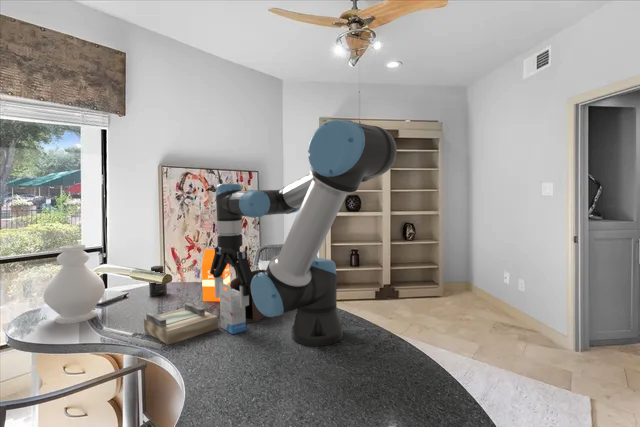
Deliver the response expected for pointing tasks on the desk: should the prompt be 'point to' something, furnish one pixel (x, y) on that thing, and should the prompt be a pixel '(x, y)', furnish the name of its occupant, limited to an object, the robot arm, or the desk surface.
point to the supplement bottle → (154, 288)
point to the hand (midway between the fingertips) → (231, 301)
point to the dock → (180, 324)
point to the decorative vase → (74, 287)
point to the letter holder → (251, 309)
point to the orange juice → (211, 276)
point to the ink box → (231, 310)
